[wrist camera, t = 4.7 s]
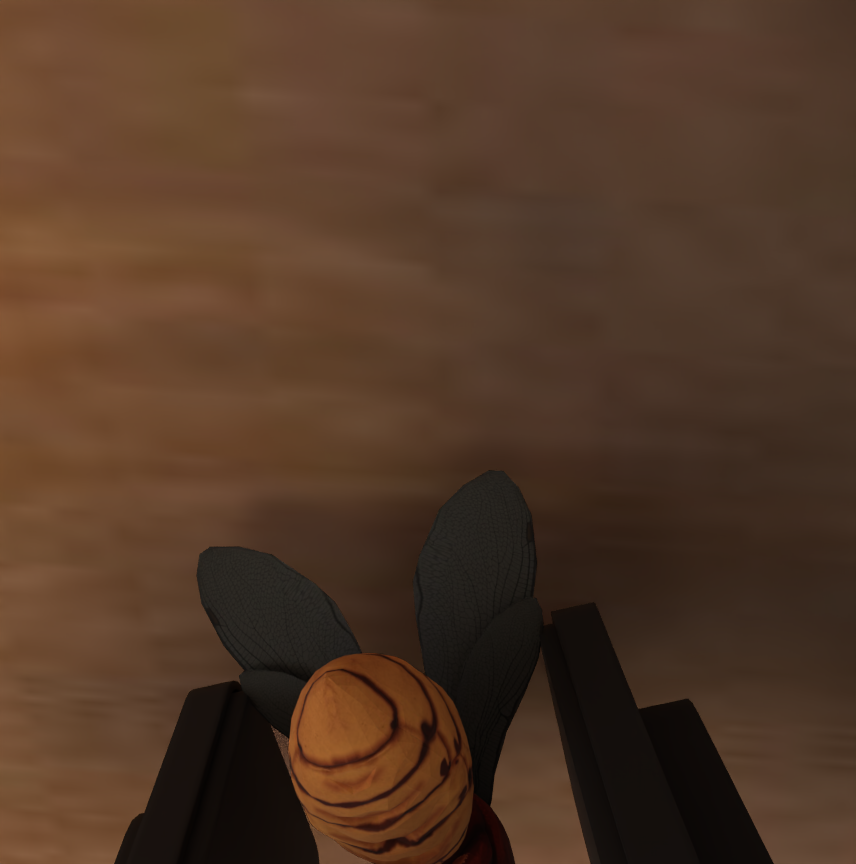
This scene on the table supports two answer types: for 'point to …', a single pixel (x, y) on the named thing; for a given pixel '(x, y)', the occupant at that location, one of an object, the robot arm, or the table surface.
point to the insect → (395, 682)
